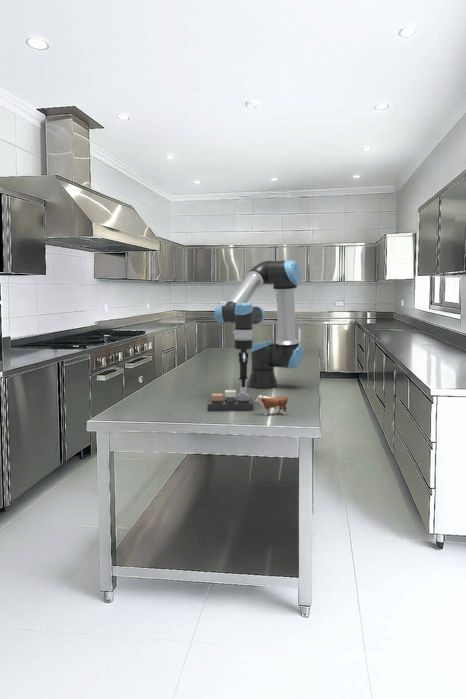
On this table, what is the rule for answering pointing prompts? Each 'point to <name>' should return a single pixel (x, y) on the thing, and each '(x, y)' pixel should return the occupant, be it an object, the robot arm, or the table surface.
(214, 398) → the tan cube
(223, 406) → the keypad base
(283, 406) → the bull figurine
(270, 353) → the robot arm
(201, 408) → the table surface
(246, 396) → the grey key
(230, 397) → the cream key
